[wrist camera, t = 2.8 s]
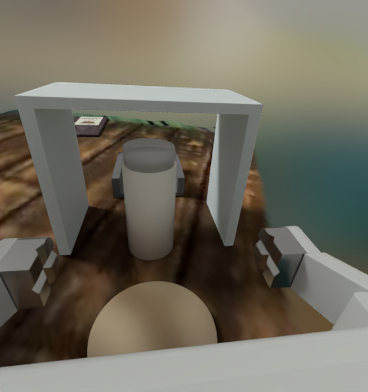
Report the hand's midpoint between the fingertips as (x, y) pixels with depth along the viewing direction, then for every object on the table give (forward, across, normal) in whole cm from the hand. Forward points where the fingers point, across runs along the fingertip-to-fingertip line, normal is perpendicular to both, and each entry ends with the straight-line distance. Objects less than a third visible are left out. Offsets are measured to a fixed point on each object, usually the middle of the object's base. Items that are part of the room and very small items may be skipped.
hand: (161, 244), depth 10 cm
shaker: (+12, 0, -11) cm, 17 cm away
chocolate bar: (+60, -17, -12) cm, 64 cm away
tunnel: (+16, -1, -11) cm, 20 cm away
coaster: (+2, 0, -11) cm, 11 cm away
